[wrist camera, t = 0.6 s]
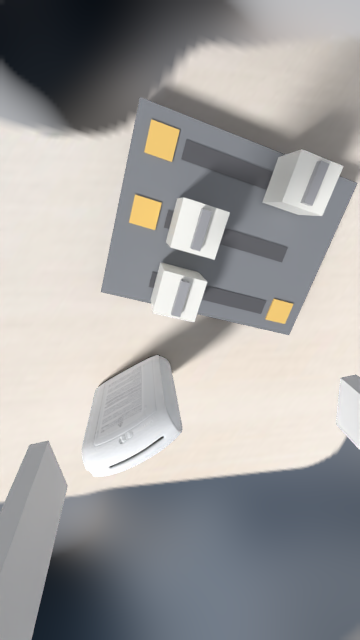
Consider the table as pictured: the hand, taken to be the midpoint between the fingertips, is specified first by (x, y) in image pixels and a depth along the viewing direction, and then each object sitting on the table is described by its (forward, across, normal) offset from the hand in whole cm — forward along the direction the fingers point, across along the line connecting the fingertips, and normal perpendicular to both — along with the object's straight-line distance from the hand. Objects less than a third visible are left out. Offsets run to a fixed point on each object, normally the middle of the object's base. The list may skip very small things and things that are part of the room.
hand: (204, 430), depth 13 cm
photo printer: (+22, -5, -11) cm, 25 cm away
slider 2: (+18, +14, +9) cm, 25 cm away
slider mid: (+18, +4, +7) cm, 20 cm away
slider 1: (+18, +1, +2) cm, 19 cm away
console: (+22, +8, +5) cm, 24 cm away
